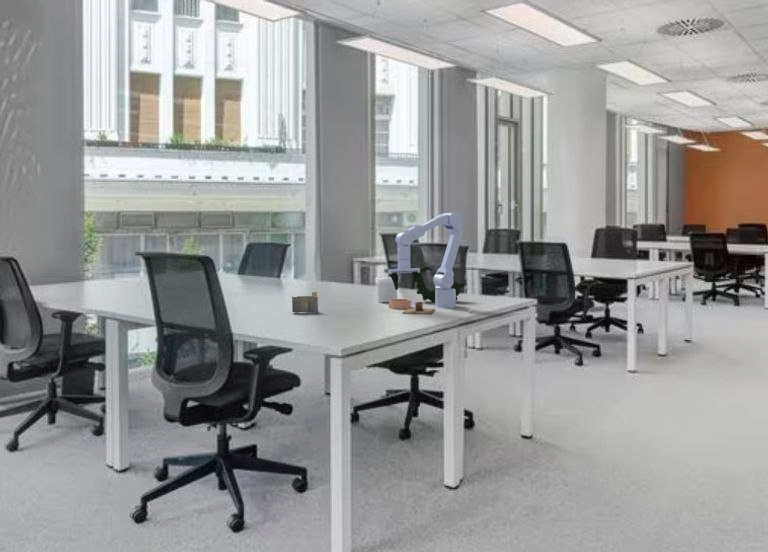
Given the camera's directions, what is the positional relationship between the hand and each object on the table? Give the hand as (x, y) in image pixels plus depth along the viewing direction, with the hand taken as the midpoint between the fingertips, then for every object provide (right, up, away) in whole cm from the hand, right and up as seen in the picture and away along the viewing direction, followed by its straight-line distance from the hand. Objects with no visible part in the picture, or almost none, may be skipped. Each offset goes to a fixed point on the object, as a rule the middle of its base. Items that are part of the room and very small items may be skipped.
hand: (404, 289), depth 311 cm
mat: (+6, -10, -8) cm, 15 cm away
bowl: (-2, -9, +6) cm, 11 cm away
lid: (+6, -10, -8) cm, 14 cm away
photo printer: (-7, -7, +31) cm, 32 cm away
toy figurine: (+19, -7, +29) cm, 35 cm away
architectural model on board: (-45, -11, -2) cm, 46 cm away
